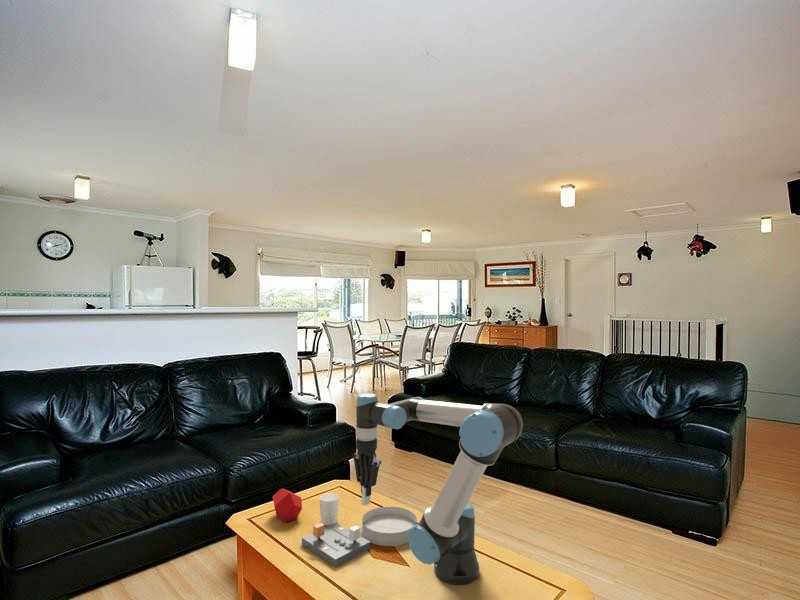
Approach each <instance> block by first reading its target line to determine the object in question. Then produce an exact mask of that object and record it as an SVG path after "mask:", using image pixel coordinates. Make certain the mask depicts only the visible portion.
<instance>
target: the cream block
mask: <svg viewBox="0 0 800 600" xmlns="http://www.w3.org/2000/svg"><path fill="white" fill-rule="evenodd" d="M348 530H349V538H350V539H351V540H353V541H354V542H356V539H358V538H360V536H361V527H359V526H358V525H354V526H351V527H350V528H349V529H348Z"/></svg>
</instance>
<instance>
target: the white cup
mask: <svg viewBox="0 0 800 600" xmlns="http://www.w3.org/2000/svg"><path fill="white" fill-rule="evenodd" d="M339 502H340V496H339V495H338V494H337V493H332V492H328V493H322V495H320V496H319V515H320V523H322V524H324V526H330V525H332V524H335V523H337V522H338V515H339Z"/></svg>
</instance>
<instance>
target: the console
mask: <svg viewBox="0 0 800 600" xmlns="http://www.w3.org/2000/svg"><path fill="white" fill-rule="evenodd" d="M301 545H302V546H303V547H304V548H306V549H308V550H309V551H311V552H312V553H314V554H316V555H317V556H319V557H320V558H322V559H323V560H324V561H326V562H327V563H329V564H331V565H332V566H333V567H338V566H339V565H341V564H344V563H345V562H347V561H349V560H350V559H351V560H352V559H353V558H355V557H357V556H359V555H360V554H363V553H364V552H366V551H369V550H370V549H371V542H370V541H368V540H366V539H365V538H364V537H363V536H362V535H360V538H358V539H356V542H354V541H353V540H351V539H350V538H349V529H348V528H346V527H344V526H343V525H341V524H340V523H337V522H336V523H335V524H332V525H327V526H326V527H325V526H324V535H322V536H320V539H318V538H317V537H315V536H313V532H312V533H309V534H308V535H305V536H303V537H301Z"/></svg>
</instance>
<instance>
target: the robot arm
mask: <svg viewBox="0 0 800 600" xmlns="http://www.w3.org/2000/svg"><path fill="white" fill-rule="evenodd" d="M356 397H357V398H356V406H355V409H356V411H355V412H356V413H355V414H356V416H355V418H356V422H355V424H356V425H355V438H356V439H355V449H356V453H352V455H351V456H352V459H353V463H354V469H355V478H356V482H357V483H359V484H360V493H361V505H363V506H367V505H368V506H369V504H371V496H372V487H374V486H376V485H377V481H378V473H379V470H380V466H381V464H382V461H381V460H378V458H377V453H376V451H377V449H378V439H377V438H378V426H382V427H385V428H386V429H393V430H394V429H395V430H399V429H401V428H403V426H405V424H406V422H407V423H408V422H410V421H417V422H423V423H424V422H425V423H431V424H439V425H445V426H446V425H447V426H451V427H452V426H453V427H460V428H459V433H458V434H459V438H460V439H459V441H458V446H459V449H460V450H459V451H460V452H459V454H458V456H457V458H456V460H455V461H454V464H453V465H452V468H451V469H450V472H449V474H448V476H447V477H446V480H445V482H444V483H443V486H442V487H441V490H440V492H439V493H438V496H437V498H436V499H435V501H434V504H433V505H430V506H428V507H427V508H426V509H425V510H424V513H423V514H422V517H421V518H420V520H419V522H417V525H414V526H413V527H412V528H411V529H410V531H409V533H408V543H407V544H408V545H409V549H410V551H411V552H412V554H413V556H414V557H415V558H416V559H417V560H418V561H419V562H420V563H421V564H423V565H432V564H434V565H433V571H434V574H435V575H436V577H437V578H439V579H440V580H442V581H443V582H445V583H448V584H452V585H467V584H471V583H473V582H475V581H476V580H477V579H478V578H479V577H480V564H479V561H478V558H477V554H476V551H475V530H476V529H475V521H476V520H475V519H476V515H475V508H474V506H473V505H472V503H470V502H469V501H470V500H471V498H472V496H473V494H474V492H475V490H476V489H477V486H478V484H479V482H480V481H481V480H482V479H481V478H482V477H483V475H484V474H485V471H486V469H487V467H488V466H489V467H490V466H493V465H495V463H496V462H497V460H498V458H499V456H500V454H501V453H502V451H503V449H504V448H505V447H507V446H508V445H510V444H512V443H514V442H515V441H517V440H518V438H520V436H521V435H522V432H523V427H524V424H523V418H522V416H521V414H520V412H519V411H518V410H516V408H514V407H513V406H511V405H509V404H506V403H493V402H492V403H490V402H486V403H484V404H483V405H477V404H470V403H468V404H467V403H460V402H459V403H458V402H450V401H449V402H447V401H439V400H438V401H437V400H430V399H429V400H428V399H424V398H423V397H421V396H416V397H409V398H407V399H404V400H403V399H402V400H399V401H395V402H392V403H391V402H390V403H385V402H379V398H378V397H379V396H378V395H377V394H375V393H361V394H359V395H357V396H356Z"/></svg>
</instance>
